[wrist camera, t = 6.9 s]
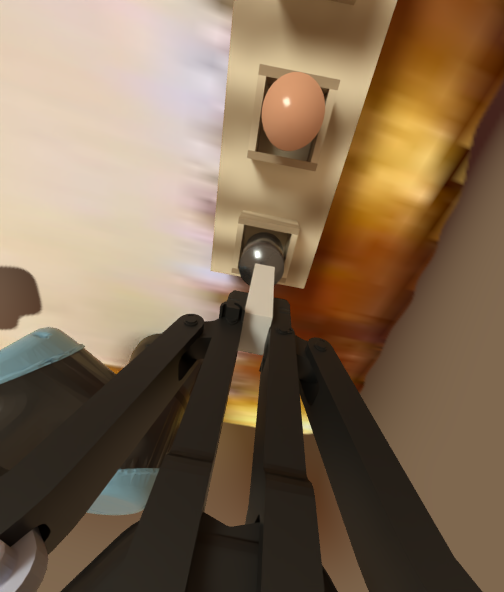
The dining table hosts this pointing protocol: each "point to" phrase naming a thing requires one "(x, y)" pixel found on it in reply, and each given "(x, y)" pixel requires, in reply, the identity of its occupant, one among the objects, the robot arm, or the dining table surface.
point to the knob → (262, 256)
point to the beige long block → (314, 156)
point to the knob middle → (293, 111)
